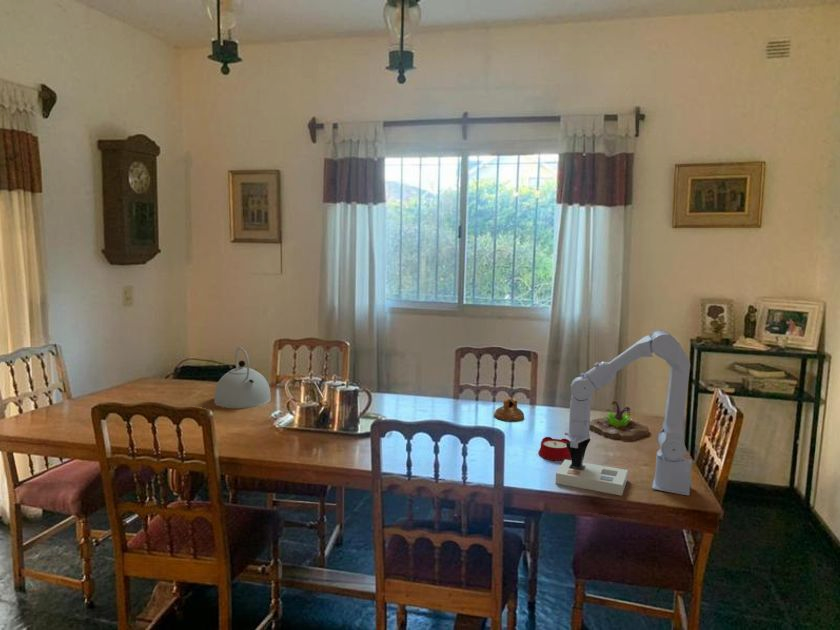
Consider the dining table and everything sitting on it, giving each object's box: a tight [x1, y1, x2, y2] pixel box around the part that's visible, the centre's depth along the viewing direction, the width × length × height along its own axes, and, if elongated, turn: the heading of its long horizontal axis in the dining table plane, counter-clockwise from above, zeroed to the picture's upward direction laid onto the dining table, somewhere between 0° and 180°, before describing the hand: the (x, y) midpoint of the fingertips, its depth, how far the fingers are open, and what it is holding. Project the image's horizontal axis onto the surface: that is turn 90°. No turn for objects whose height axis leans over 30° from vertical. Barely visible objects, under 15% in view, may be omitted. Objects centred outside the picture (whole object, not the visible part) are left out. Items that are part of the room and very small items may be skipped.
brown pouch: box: [493, 397, 525, 422], centre depth 233 cm, size 12×12×7 cm
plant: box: [589, 400, 650, 441], centre depth 218 cm, size 20×20×11 cm
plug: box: [572, 457, 584, 470], centre depth 174 cm, size 3×3×9 cm
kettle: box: [213, 346, 272, 409], centre depth 248 cm, size 25×23×22 cm
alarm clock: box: [538, 436, 571, 462], centre depth 194 cm, size 10×6×15 cm
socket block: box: [555, 459, 629, 496], centre depth 171 cm, size 18×12×3 cm, turn 65°
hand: (577, 464), depth 174 cm, fingers closed on plug, 3 cm apart
